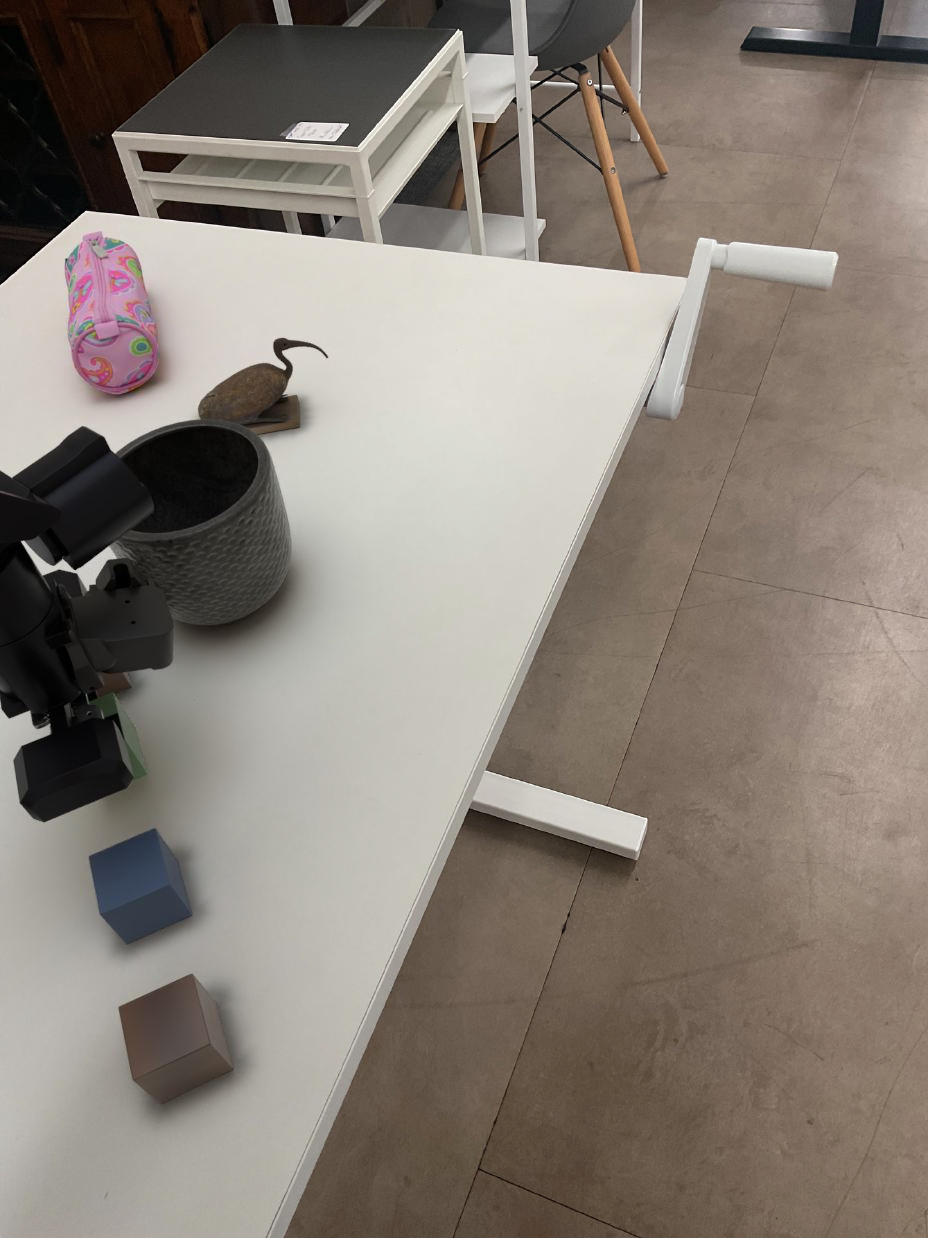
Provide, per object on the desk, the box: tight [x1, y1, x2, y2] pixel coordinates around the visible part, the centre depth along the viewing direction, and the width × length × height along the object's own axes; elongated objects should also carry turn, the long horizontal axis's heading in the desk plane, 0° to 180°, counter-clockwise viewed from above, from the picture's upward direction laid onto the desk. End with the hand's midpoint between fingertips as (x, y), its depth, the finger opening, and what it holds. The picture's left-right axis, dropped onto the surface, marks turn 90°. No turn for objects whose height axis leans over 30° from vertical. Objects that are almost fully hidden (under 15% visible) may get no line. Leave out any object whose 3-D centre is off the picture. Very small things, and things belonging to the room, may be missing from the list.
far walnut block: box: [96, 671, 132, 698], centre depth 79 cm, size 4×4×4 cm
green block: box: [72, 693, 149, 782], centre depth 71 cm, size 4×4×4 cm
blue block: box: [88, 827, 193, 945], centre depth 66 cm, size 4×4×4 cm
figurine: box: [197, 337, 329, 435], centre depth 97 cm, size 14×4×9 cm, turn 97°
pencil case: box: [64, 231, 160, 395], centre depth 110 cm, size 21×9×9 cm, turn 17°
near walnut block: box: [117, 973, 234, 1105], centre depth 59 cm, size 4×4×4 cm
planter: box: [108, 418, 293, 626], centre depth 81 cm, size 14×14×13 cm
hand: (105, 756), depth 71 cm, fingers closed on green block, 4 cm apart
